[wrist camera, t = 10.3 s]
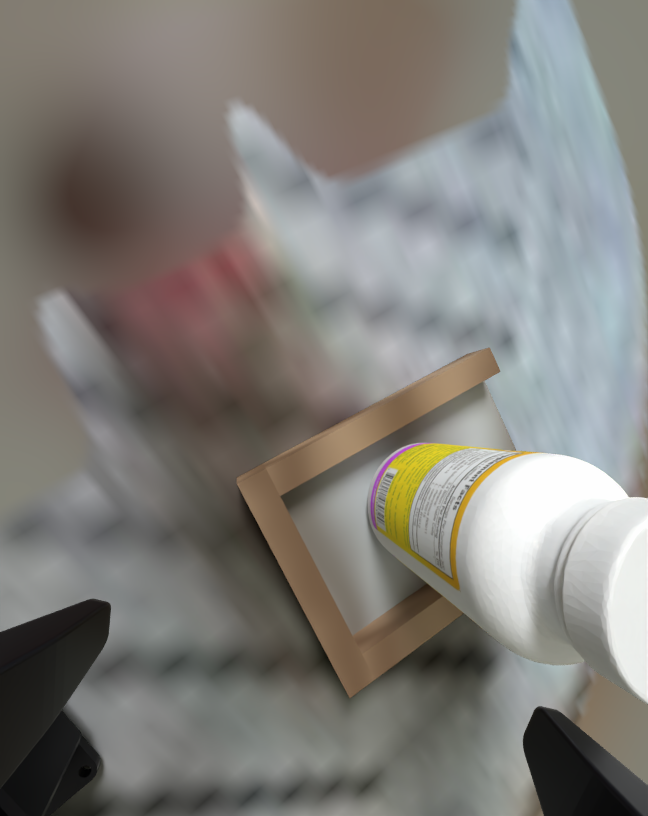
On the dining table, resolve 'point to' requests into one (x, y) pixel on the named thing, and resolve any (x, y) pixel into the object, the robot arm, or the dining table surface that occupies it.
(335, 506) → the open-ended tray
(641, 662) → the supplement bottle
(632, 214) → the dining table surface
